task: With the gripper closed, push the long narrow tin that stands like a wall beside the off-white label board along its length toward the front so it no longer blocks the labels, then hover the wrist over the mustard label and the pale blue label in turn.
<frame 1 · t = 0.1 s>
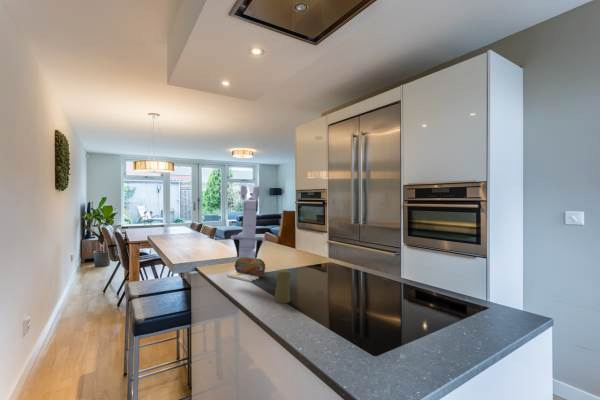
hand: (246, 257, 130), 11 cm above the counter, tool pointing down, fingers open, 7 cm apart
label board: (242, 277, 137), on the counter
tin: (249, 275, 142), on the counter
olive green tapered cylinder: (281, 301, 108), on the counter
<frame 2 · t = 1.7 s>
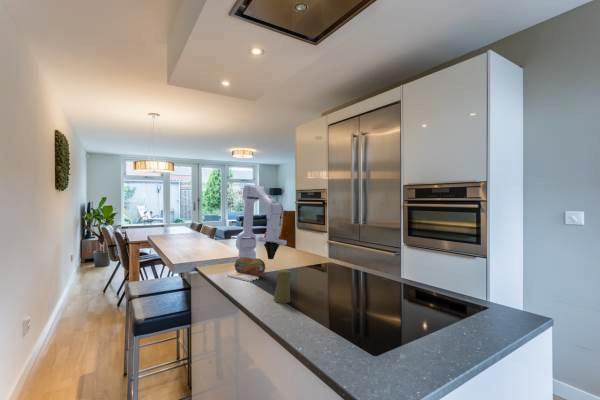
hand: (270, 258, 137), 9 cm above the counter, tool pointing down, fingers closed
nothing on the counter moved.
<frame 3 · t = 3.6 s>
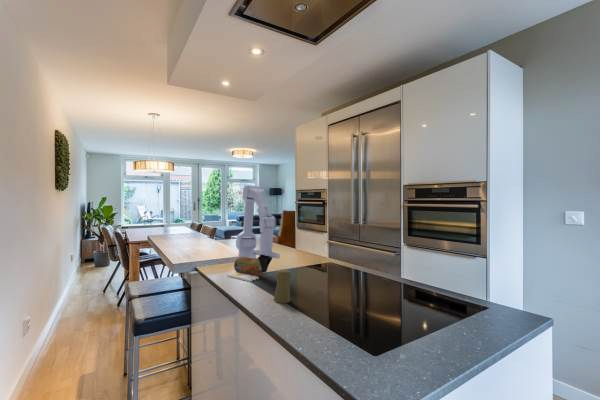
hand: (264, 272, 138), 3 cm above the counter, tool pointing down, fingers closed
tin: (248, 275, 143), on the counter, touching gripper
everything else where it was.
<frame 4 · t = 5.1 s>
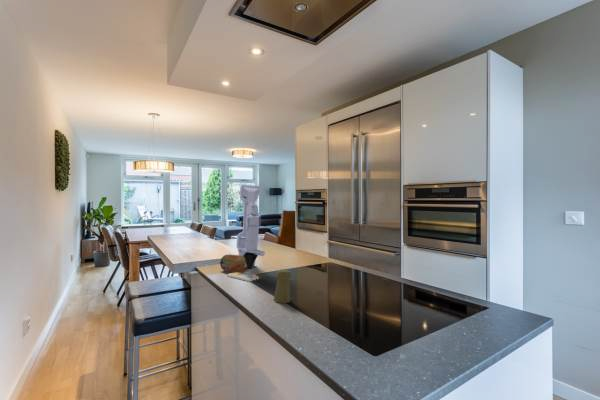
hand: (249, 269, 142), 3 cm above the counter, tool pointing down, fingers closed
tin: (234, 272, 146), on the counter, touching gripper
everything else where it was.
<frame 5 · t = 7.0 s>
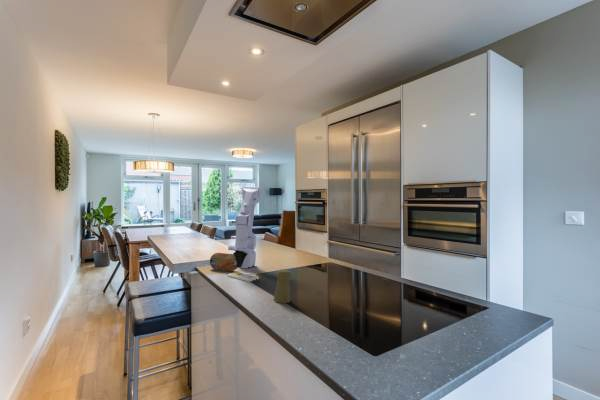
hand: (239, 266, 146), 3 cm above the counter, tool pointing down, fingers closed
tin: (224, 270, 149), on the counter, touching gripper
everything else where it was.
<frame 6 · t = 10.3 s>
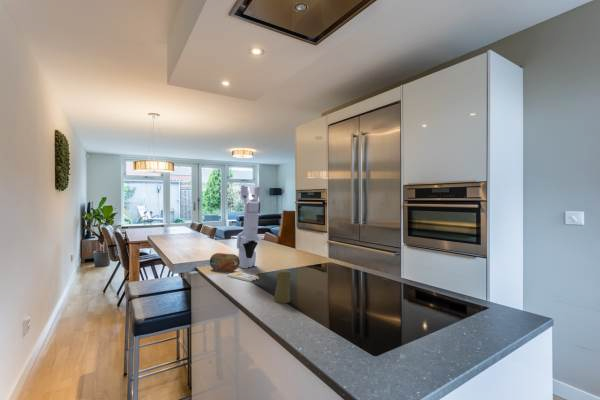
hand: (249, 257, 135), 9 cm above the counter, tool pointing down, fingers closed
tin: (224, 270, 149), on the counter
everything else where it was.
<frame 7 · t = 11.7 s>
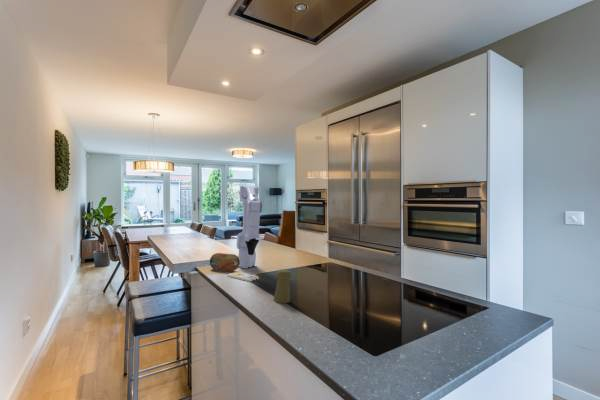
hand: (250, 254, 142), 10 cm above the counter, tool pointing down, fingers closed
nothing on the counter moved.
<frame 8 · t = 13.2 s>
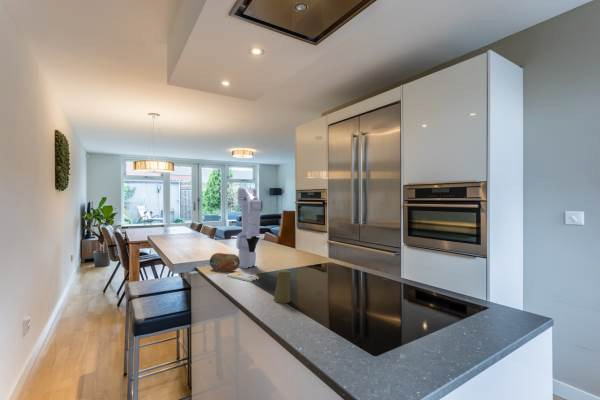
hand: (251, 252, 146), 10 cm above the counter, tool pointing down, fingers closed
nothing on the counter moved.
at the end: tin inside the target area (1.8 cm from its centre), on the counter; tin tilted 0°; tin moved 15.2 cm from its start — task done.
